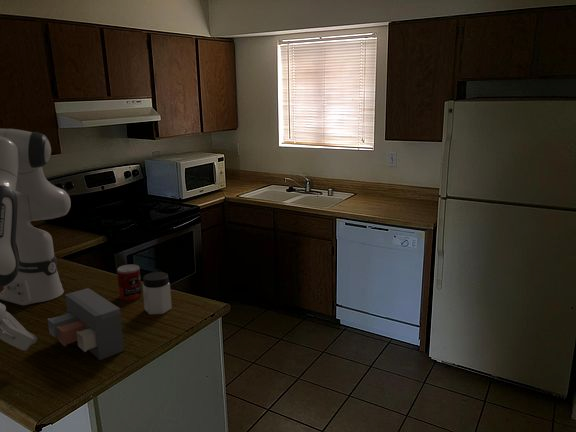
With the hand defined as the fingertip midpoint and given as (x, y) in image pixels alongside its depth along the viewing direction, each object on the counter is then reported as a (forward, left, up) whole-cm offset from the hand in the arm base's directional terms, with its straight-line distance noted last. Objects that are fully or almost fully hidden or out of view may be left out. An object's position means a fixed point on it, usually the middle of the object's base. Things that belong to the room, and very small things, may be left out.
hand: (34, 339), depth 130 cm
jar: (+14, +39, -7) cm, 42 cm away
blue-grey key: (-1, +12, -4) cm, 13 cm away
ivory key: (+13, +8, -4) cm, 15 cm away
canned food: (-1, +46, -7) cm, 46 cm away
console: (+8, +14, -7) cm, 18 cm away
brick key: (+5, +9, -4) cm, 11 cm away
